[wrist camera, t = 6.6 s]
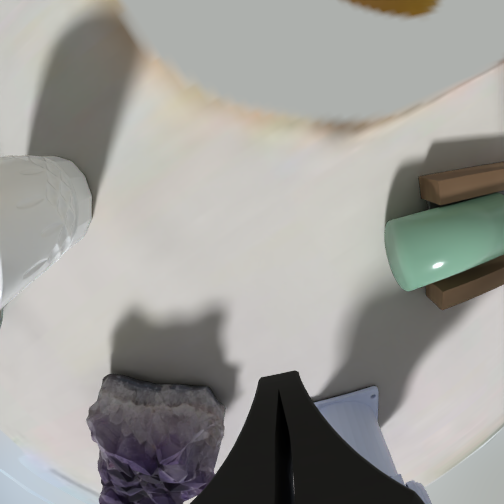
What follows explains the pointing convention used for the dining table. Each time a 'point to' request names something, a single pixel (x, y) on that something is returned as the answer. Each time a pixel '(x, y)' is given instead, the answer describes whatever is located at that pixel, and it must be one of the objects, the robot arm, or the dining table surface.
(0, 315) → the air freshener
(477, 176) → the cradle
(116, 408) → the geode
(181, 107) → the dining table surface
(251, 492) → the robot arm
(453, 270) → the bottle
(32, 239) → the white cup
